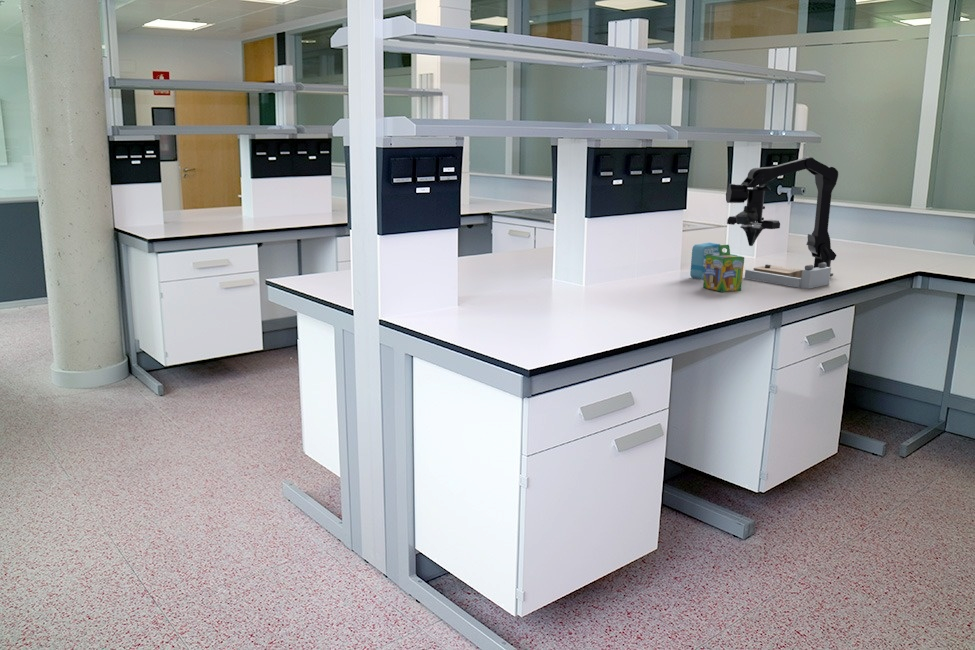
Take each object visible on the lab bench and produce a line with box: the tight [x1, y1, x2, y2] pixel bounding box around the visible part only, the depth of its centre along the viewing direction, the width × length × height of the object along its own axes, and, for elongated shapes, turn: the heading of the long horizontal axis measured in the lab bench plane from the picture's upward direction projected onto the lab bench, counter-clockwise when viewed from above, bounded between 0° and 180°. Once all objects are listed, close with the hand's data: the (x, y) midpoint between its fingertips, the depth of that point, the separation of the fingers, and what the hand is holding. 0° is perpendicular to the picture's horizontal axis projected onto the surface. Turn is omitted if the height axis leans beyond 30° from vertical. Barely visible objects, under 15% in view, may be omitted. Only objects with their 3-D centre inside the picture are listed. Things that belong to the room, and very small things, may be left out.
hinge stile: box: [799, 262, 832, 289], centre depth 274 cm, size 14×3×8 cm, turn 130°
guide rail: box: [744, 269, 801, 289], centre depth 279 cm, size 2×21×3 cm, turn 40°
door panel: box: [753, 263, 803, 278], centre depth 286 cm, size 11×13×5 cm
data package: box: [689, 242, 721, 280], centre depth 285 cm, size 12×4×12 cm, turn 132°
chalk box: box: [702, 244, 745, 293], centre depth 264 cm, size 9×9×15 cm
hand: (750, 245), depth 293 cm, fingers closed
